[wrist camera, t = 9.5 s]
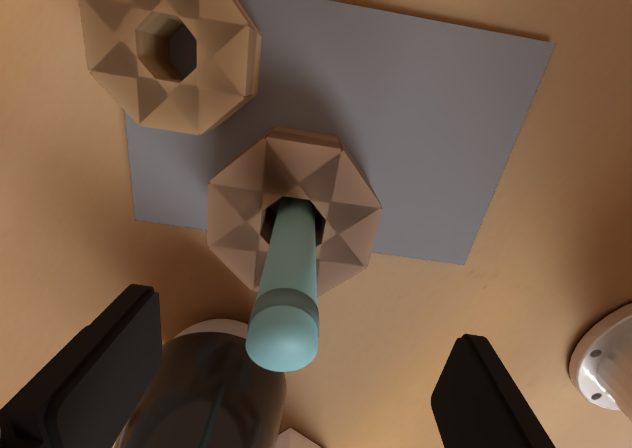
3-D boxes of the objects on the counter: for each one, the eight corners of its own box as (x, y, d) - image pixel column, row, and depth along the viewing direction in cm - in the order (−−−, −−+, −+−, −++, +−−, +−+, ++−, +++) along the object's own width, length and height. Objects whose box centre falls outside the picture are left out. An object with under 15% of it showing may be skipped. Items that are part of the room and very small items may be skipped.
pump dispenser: (170, 284, 24) (-30, 569, 10) (303, 313, 25) (289, 603, 11) (161, 375, 28) (9, 666, 14) (275, 396, 29) (239, 684, 15)
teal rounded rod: (318, 186, 20) (325, 323, 9) (312, 218, 21) (313, 376, 10) (282, 181, 20) (246, 313, 9) (278, 214, 21) (241, 369, 10)
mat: (549, 44, 17) (556, 43, 17) (460, 261, 23) (463, 265, 22) (116, -38, 16) (110, -42, 15) (138, 217, 21) (134, 220, 21)
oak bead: (265, -12, 16) (252, -36, 12) (254, 131, 18) (242, 141, 15) (120, -40, 15) (68, -71, 12) (133, 111, 18) (94, 118, 15)
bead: (380, 142, 19) (396, 157, 15) (350, 268, 23) (357, 304, 19) (229, 118, 18) (208, 128, 15) (224, 251, 22) (206, 285, 18)
